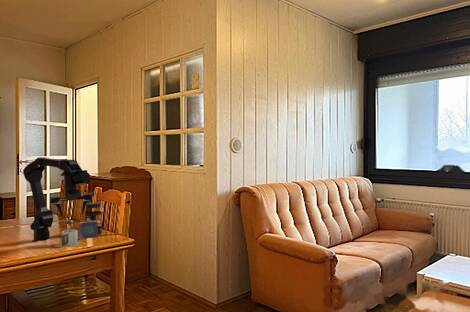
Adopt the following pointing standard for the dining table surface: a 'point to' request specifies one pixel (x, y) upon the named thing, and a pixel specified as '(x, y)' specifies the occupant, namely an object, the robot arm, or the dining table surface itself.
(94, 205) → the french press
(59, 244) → the coaster
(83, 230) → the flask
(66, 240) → the grey boxy piece
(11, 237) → the dining table surface
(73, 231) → the plunger
